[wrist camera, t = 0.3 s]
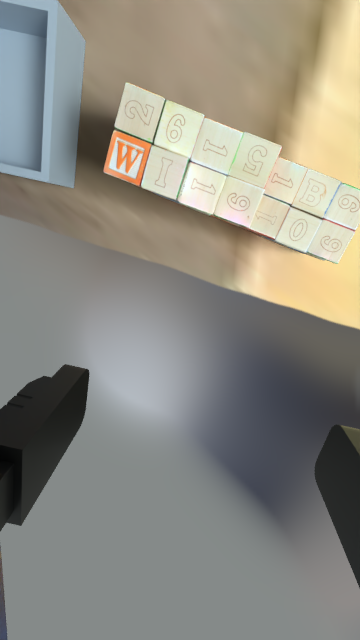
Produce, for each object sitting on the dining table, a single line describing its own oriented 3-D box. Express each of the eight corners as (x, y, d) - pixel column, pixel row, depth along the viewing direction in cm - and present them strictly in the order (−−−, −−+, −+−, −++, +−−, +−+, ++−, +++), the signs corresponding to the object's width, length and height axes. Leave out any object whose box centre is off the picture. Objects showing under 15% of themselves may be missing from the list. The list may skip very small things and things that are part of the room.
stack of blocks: (332, 201, 33) (399, 193, 22) (305, 254, 36) (353, 272, 24) (153, 127, 33) (123, 78, 21) (135, 186, 35) (100, 171, 23)
